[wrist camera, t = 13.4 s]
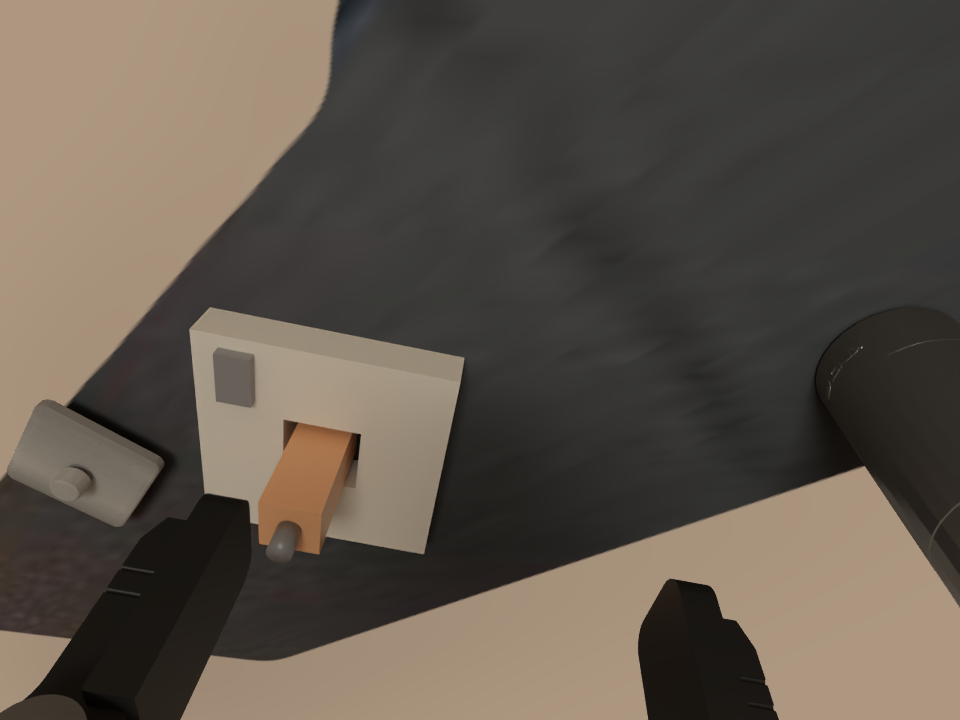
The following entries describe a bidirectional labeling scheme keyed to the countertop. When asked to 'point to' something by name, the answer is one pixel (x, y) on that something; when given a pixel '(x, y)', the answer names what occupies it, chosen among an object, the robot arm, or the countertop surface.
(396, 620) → the countertop surface
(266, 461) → the socket
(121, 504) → the light switch
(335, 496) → the plug
